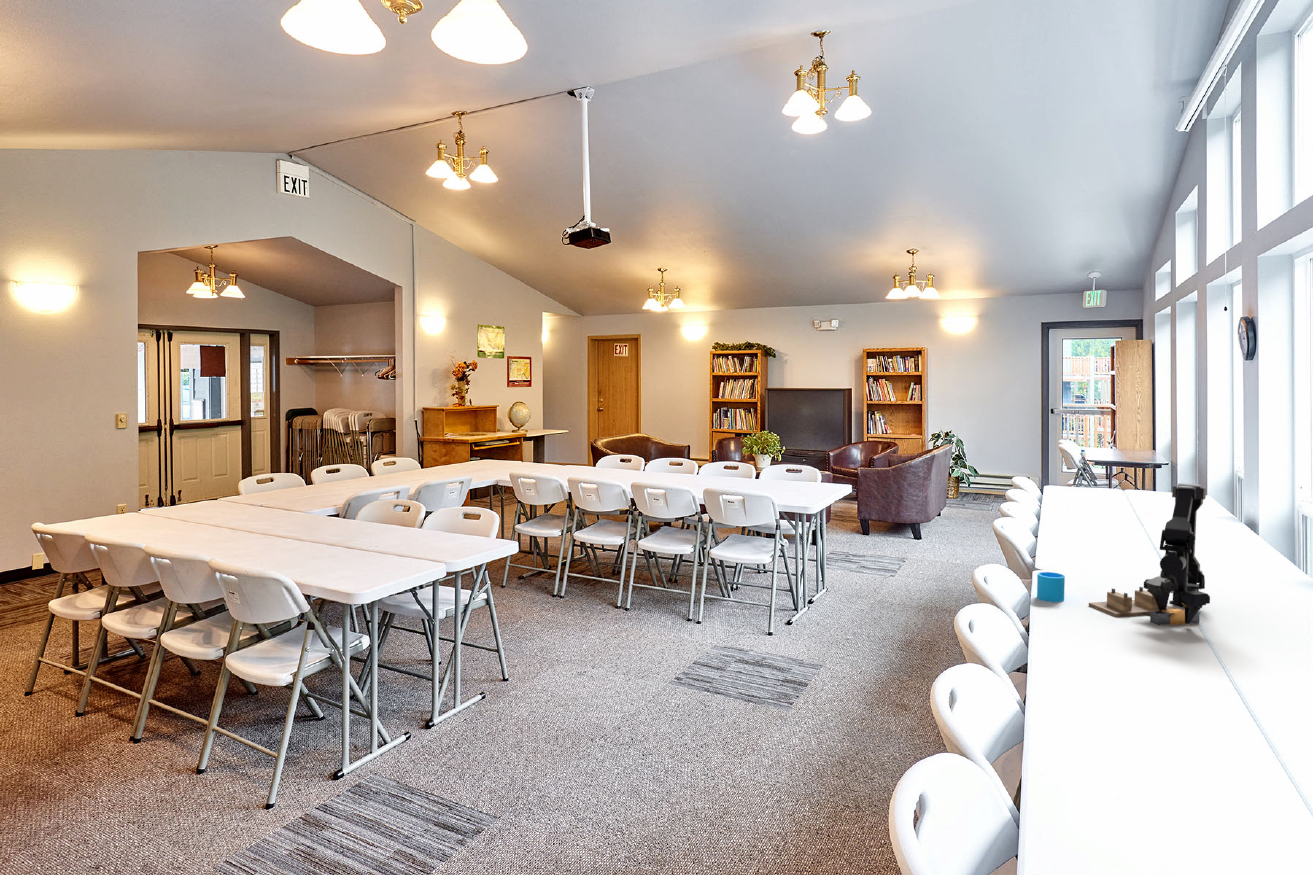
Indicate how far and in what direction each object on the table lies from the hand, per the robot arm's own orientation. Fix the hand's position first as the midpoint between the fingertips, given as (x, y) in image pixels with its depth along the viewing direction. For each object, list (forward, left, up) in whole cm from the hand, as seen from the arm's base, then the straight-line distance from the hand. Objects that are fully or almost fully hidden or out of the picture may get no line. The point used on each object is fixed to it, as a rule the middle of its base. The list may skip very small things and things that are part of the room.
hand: (1174, 618), depth 227 cm
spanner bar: (0, 0, -1) cm, 1 cm away
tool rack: (+2, -14, -1) cm, 14 cm away
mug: (+18, -31, -1) cm, 36 cm away
